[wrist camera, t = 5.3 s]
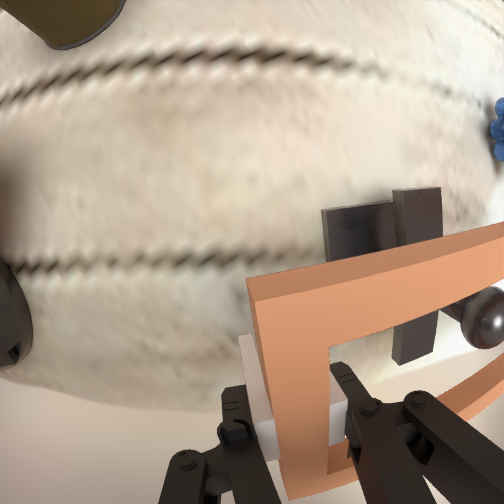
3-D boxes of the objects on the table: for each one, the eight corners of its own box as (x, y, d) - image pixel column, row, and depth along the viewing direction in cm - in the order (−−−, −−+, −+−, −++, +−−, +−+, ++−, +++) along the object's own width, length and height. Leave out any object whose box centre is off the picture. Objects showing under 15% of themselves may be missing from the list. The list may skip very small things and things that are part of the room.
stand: (331, 339, 28) (413, 455, 12) (319, 193, 25) (457, 208, 9) (420, 311, 29) (519, 382, 13) (420, 182, 26) (555, 194, 10)
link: (281, 474, 12) (288, 500, 10) (245, 278, 9) (254, 302, 7) (547, 327, 15) (559, 334, 13) (564, 204, 12) (580, 207, 10)
